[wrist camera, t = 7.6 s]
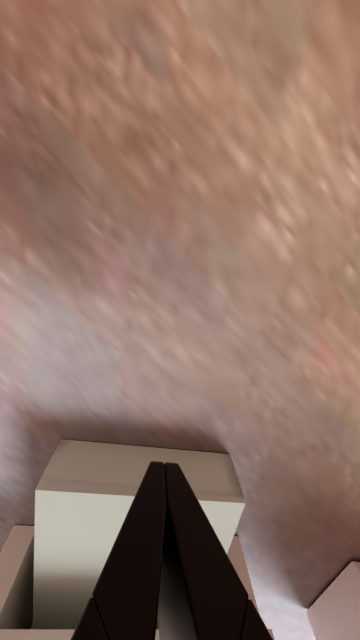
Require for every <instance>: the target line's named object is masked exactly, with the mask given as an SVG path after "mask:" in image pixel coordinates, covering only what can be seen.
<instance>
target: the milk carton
mask: <svg viewBox="0 0 360 640" xmlns="http://www.w3.org/2000/svg"><path fill="white" fill-rule="evenodd" d="M306 613H307V617H308V619H309V622H310V625H311V627H312V630H313V632H314V635H315V638H316V640H360V562H354V561H352V562H351V563H350V564H349V565H348V566H347V567H346V568H345V569H344V570H343V571H342V572H341V574H340V575H339V576H338V577H337V578H336V579H335V580H334V581H333V582H332V584H331V585H330V586H329V587H328V588H327V589H326V590H325V591H324V592H323V594H322V595H321V596H320V597H319V598H318V599H317V600H316V601H315V602H314V604H313V605H312V606H311V607H310V608H309V609H308V610H307V612H306Z"/></svg>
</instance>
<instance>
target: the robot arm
mask: <svg viewBox="0 0 360 640" xmlns="http://www.w3.org/2000/svg"><path fill="white" fill-rule="evenodd" d="M248 599H249V595H248V593H247V591H246V589H245V587H244V585H243V583H242V581H241V580H240V578H239V576H238V574H237V572H236V570H235V568H234V566H233V565H232V563H231V561H230V559H229V557H228V555H227V553H226V552H225V550H224V548H223V546H222V544H221V542H220V540H219V538H218V537H217V535H216V533H215V531H214V529H213V527H212V525H211V524H210V522H209V520H208V518H207V516H206V514H205V512H204V510H203V509H202V507H201V505H200V503H199V501H198V499H197V497H196V496H195V494H194V492H193V490H192V488H191V486H190V484H189V482H188V481H187V479H186V477H185V475H184V473H183V471H182V469H181V468H180V466H179V464H178V463H172V462H166V463H163V462H161V461H151V462H150V463H149V466H148V468H147V470H146V472H145V475H144V477H143V479H142V481H141V484H140V486H139V488H138V490H137V493H136V495H135V497H134V499H133V502H132V504H131V506H130V508H129V511H128V513H127V515H126V517H125V520H124V522H123V524H122V526H121V529H120V531H119V533H118V536H117V538H116V540H115V542H114V545H113V547H112V549H111V551H110V554H109V556H108V558H107V560H106V563H105V565H104V567H103V569H102V572H101V574H100V576H99V578H98V581H97V583H96V585H95V587H94V590H93V592H92V596H91V597H90V598H89V600H88V602H87V605H86V607H85V609H84V612H83V614H82V616H81V618H80V621H79V623H78V625H77V627H76V629H75V631H74V633H73V635H72V638H71V640H155V637H156V625H157V614H158V619H159V640H273V638H272V637H271V635H270V633H269V631H268V629H267V628H266V626H265V624H264V622H263V621H262V619H261V617H260V615H259V613H258V611H257V609H256V607H255V605H254V604H253V602H252V600H251V599H249V600H248Z"/></svg>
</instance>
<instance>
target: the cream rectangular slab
mask: <svg viewBox="0 0 360 640" xmlns="http://www.w3.org/2000/svg"><path fill="white" fill-rule="evenodd" d="M151 461H161V462H163V463H166V462H172V463H178V464H179V466H180V468H181V469H182V471H183V473H184V475H185V477H186V479H187V481H188V482H189V484H190V486H191V488H192V490H193V492H194V494H195V496H196V497H197V499H198V501H199V503H200V505H201V507H202V509H203V510H204V512H205V514H206V516H207V518H208V520H209V522H210V524H211V525H212V527H213V529H214V531H215V533H216V535H217V537H218V538H219V540H220V542H221V544H222V546H223V548H224V550H225V552H226V553H228V550H229V547H230V545H231V542H232V539H233V537H234V534H235V531H236V528H237V526H238V523H239V520H240V517H241V515H242V512H243V509H244V507H245V504H246V503H245V500H244V496H243V493H242V490H241V487H240V484H239V481H238V478H237V474H236V471H235V468H234V465H233V462H232V459H231V456H230V454H222V453H211V452H200V451H188V450H177V449H166V448H155V447H143V446H132V445H121V444H110V443H98V442H87V441H76V440H64V439H60V440H59V442H58V444H57V446H56V448H55V450H54V452H53V454H52V456H51V458H50V461H49V463H48V465H47V467H46V469H45V471H44V473H43V475H42V477H41V479H40V481H39V483H38V485H37V487H36V489H35V526H34V582H33V629H76V627H77V625H78V623H79V621H80V618H81V616H82V614H83V612H84V609H85V607H86V605H87V602H88V600H89V598H90V597H91V596H92V592H93V590H94V587H95V585H96V583H97V581H98V578H99V576H100V574H101V572H102V569H103V567H104V565H105V563H106V560H107V558H108V556H109V554H110V551H111V549H112V547H113V545H114V542H115V540H116V538H117V536H118V533H119V531H120V529H121V526H122V524H123V522H124V520H125V517H126V515H127V513H128V511H129V508H130V506H131V504H132V502H133V499H134V497H135V495H136V493H137V490H138V488H139V486H140V484H141V481H142V479H143V477H144V475H145V472H146V470H147V468H148V466H149V463H150V462H151ZM156 629H159V619H158V614H157V625H156Z"/></svg>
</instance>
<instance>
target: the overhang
mask: <svg viewBox="0 0 360 640" xmlns="http://www.w3.org/2000/svg"><path fill="white" fill-rule="evenodd" d="M227 555H228V557H229V559H230V561H231V563H232V565H233V566H234V568H235V570H236V572H237V574H238V576H239V578H240V580H241V581H242V583H243V585H244V587H245V589H246V591H247V593H248V595H249V599H251V600H252V602H253V604H254V605H255V607H256V609H257V611H258V608H257V605H256V601H255V597H254V593H253V589H252V585H251V582H250V578H249V574H248V570H247V566H246V562H245V559H244V555H243V551H242V547H241V543H240V539H239V536H234V537H233V539H232V542H231V545H230V547H229V550H228V553H227ZM33 582H34V526H24V525H14V526H13V528H12V530H11V532H10V534H9V536H8V538H7V540H6V542H5V544H4V546H3V548H2V550H1V552H0V640H71V638H72V635H73V633H74V631H75V629H33ZM249 599H248V600H249ZM258 613H259V612H258ZM268 631H269V633H270V635H271V637H272V638H273V640H274V636H273V633H272V629H268ZM155 640H159V629H156V637H155Z"/></svg>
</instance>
